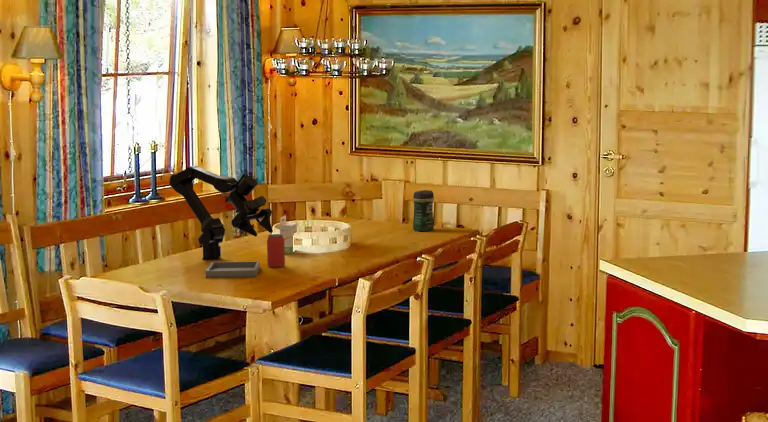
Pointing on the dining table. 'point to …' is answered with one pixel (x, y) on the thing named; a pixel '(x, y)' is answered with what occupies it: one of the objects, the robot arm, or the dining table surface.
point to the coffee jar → (423, 210)
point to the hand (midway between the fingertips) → (264, 234)
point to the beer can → (275, 251)
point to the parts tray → (233, 269)
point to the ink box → (287, 234)
